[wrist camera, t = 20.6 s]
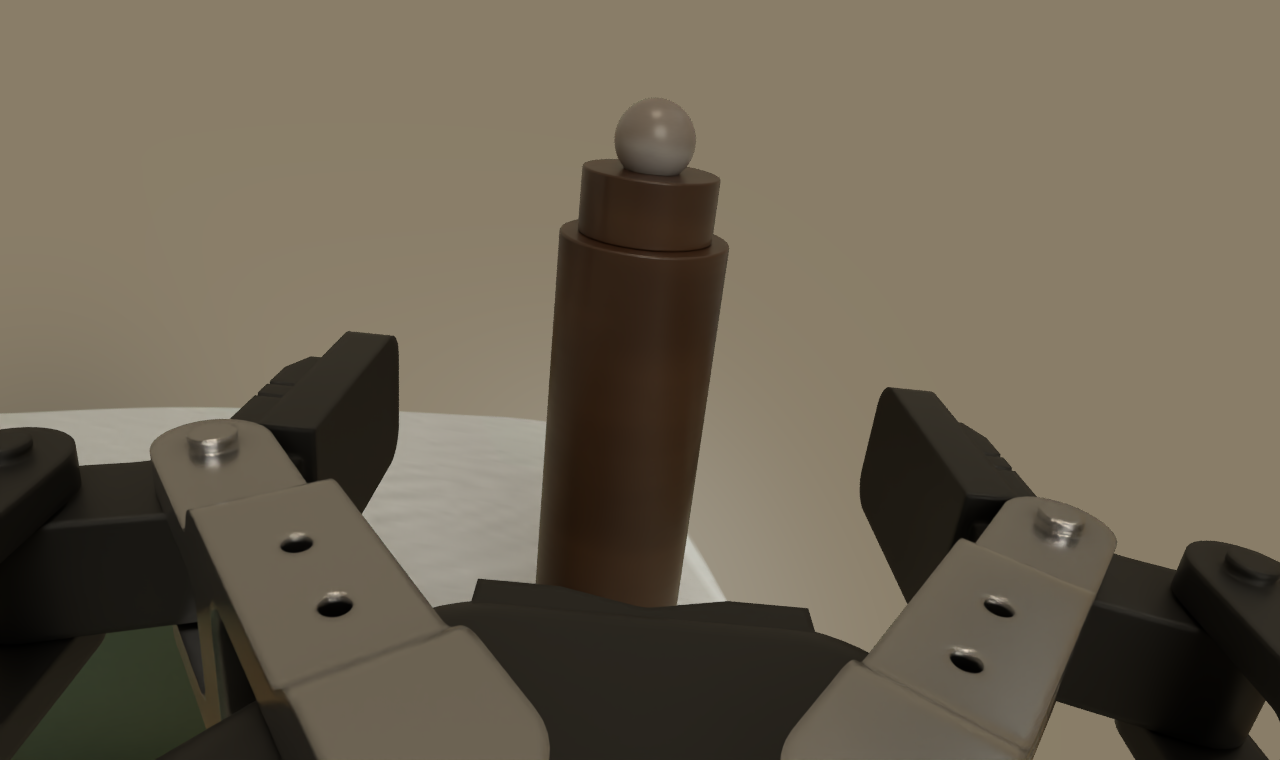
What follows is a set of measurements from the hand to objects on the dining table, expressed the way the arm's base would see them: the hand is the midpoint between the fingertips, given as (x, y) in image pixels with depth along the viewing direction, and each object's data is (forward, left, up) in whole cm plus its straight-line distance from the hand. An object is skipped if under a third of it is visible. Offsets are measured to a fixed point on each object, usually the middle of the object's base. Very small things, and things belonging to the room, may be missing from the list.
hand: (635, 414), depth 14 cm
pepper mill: (-8, +8, -17) cm, 20 cm away
